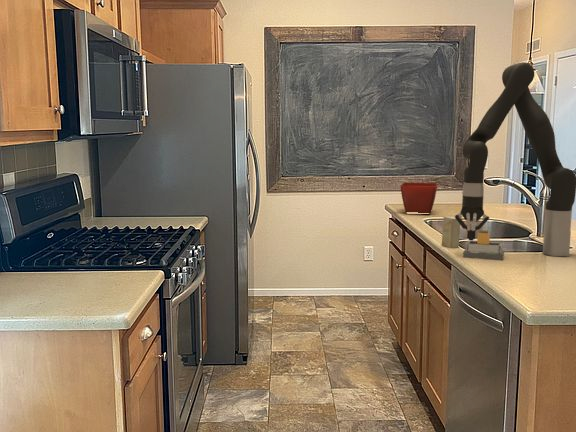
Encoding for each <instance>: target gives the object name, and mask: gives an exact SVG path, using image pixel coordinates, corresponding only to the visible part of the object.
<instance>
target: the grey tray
mask: <svg viewBox="0 0 576 432" xmlns="http://www.w3.org/2000/svg"><path fill="white" fill-rule="evenodd" d="M503 247H504V245H503V242H492V241H491V242H490V241H489V245H485V244H477V241H476V240H473V241H472V240H467V241H466V243H465V249H464V250H463V252H462V257H463V258H469V259H470V258H471V259H482V260H493V261H494V260H495V261H504V257H505V250H503Z"/></svg>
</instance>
